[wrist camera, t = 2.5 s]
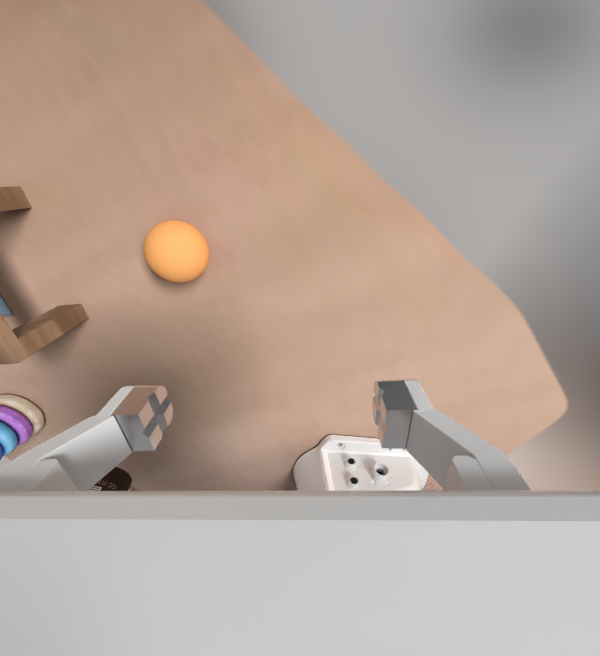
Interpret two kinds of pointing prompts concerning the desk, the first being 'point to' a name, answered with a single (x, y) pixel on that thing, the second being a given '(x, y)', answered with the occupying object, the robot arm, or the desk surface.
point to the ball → (176, 251)
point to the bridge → (44, 329)
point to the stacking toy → (17, 422)
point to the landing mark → (4, 307)
